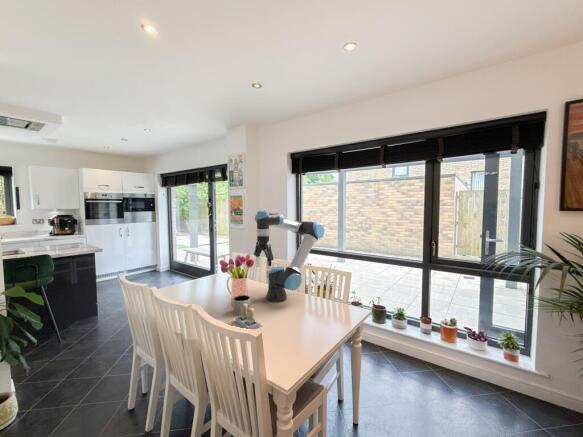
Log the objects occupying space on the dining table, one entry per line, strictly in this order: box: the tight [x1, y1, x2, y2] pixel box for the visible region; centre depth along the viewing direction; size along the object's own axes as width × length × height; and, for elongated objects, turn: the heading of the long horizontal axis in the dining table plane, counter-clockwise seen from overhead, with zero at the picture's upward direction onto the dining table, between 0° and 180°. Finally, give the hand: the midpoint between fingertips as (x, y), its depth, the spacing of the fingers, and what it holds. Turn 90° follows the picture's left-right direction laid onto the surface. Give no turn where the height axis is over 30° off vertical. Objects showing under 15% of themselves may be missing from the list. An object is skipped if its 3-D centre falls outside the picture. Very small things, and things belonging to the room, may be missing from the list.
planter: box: [232, 294, 252, 316], centre depth 165 cm, size 11×11×10 cm
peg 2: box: [247, 307, 255, 326], centre depth 145 cm, size 4×4×10 cm
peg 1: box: [240, 304, 247, 321], centre depth 152 cm, size 4×4×10 cm
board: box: [232, 315, 264, 330], centre depth 149 cm, size 12×16×3 cm
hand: (263, 268), depth 163 cm, fingers open, 13 cm apart
